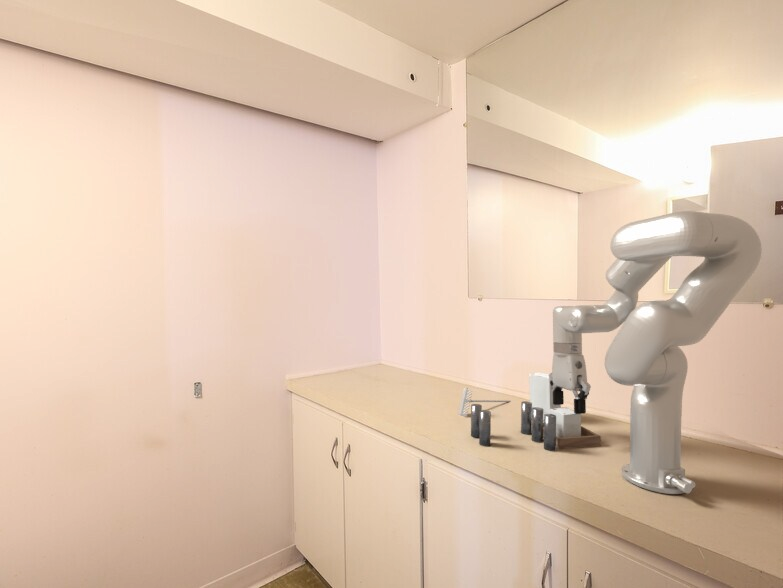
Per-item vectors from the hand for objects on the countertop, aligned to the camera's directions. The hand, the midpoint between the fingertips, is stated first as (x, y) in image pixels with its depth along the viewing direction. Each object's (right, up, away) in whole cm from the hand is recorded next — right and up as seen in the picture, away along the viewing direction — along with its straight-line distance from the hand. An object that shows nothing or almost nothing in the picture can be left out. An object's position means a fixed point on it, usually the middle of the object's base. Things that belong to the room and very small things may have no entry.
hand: (568, 408), depth 111 cm
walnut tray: (0, -9, +1) cm, 9 cm away
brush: (-17, -9, +29) cm, 34 cm away
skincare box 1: (0, -9, +18) cm, 20 cm away
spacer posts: (-17, -9, -2) cm, 19 cm away
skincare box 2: (-1, -8, +1) cm, 9 cm away
